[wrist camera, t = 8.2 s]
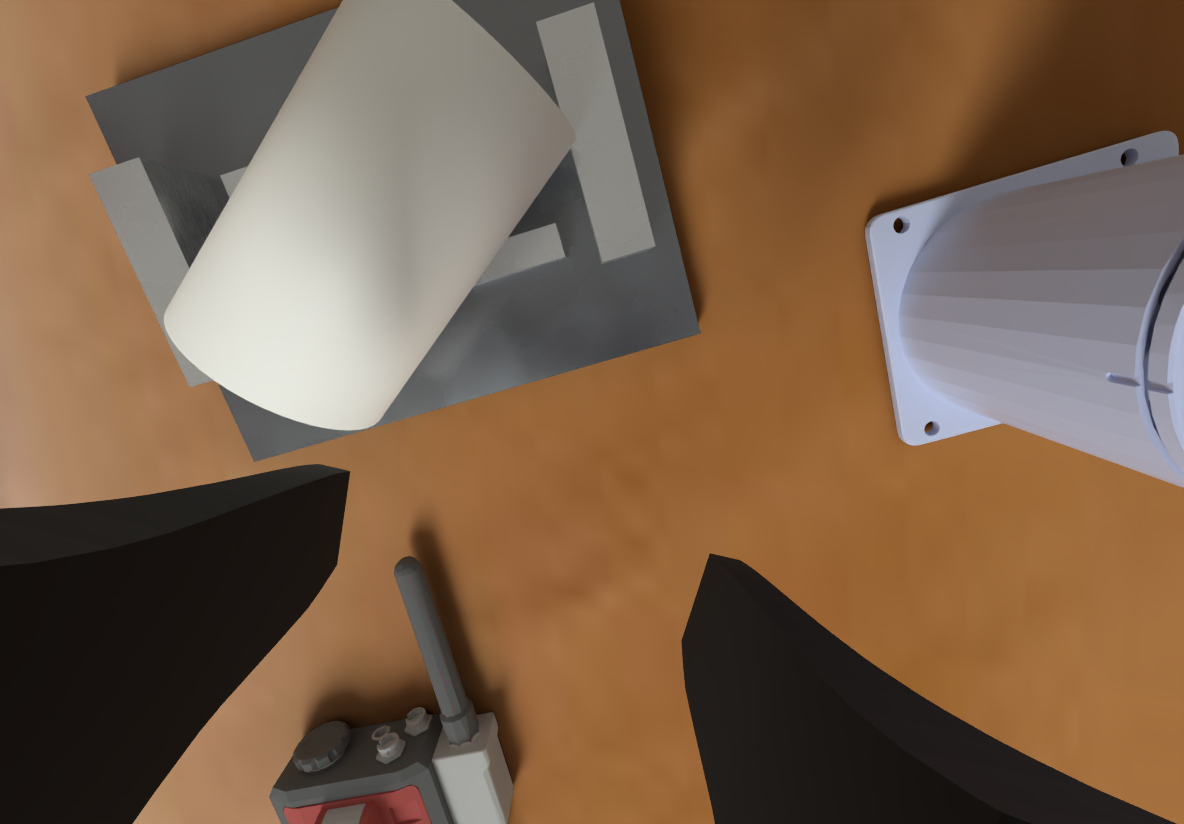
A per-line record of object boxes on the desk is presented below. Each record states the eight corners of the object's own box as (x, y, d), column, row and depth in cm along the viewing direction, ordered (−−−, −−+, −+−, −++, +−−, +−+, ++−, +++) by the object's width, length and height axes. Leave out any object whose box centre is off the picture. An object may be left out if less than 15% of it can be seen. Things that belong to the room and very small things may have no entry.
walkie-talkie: (562, 913, 26) (443, 535, 21) (555, 1040, 22) (404, 601, 17) (386, 941, 26) (232, 578, 22) (344, 1070, 22) (142, 653, 17)
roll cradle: (598, -64, 16) (598, -155, 13) (695, 330, 19) (716, 342, 15) (114, 106, 17) (-5, 65, 14) (271, 452, 20) (204, 489, 17)
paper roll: (393, -2, 14) (344, -104, 9) (561, 147, 16) (596, 129, 11) (225, 284, 16) (106, 328, 11) (395, 385, 18) (361, 462, 13)
